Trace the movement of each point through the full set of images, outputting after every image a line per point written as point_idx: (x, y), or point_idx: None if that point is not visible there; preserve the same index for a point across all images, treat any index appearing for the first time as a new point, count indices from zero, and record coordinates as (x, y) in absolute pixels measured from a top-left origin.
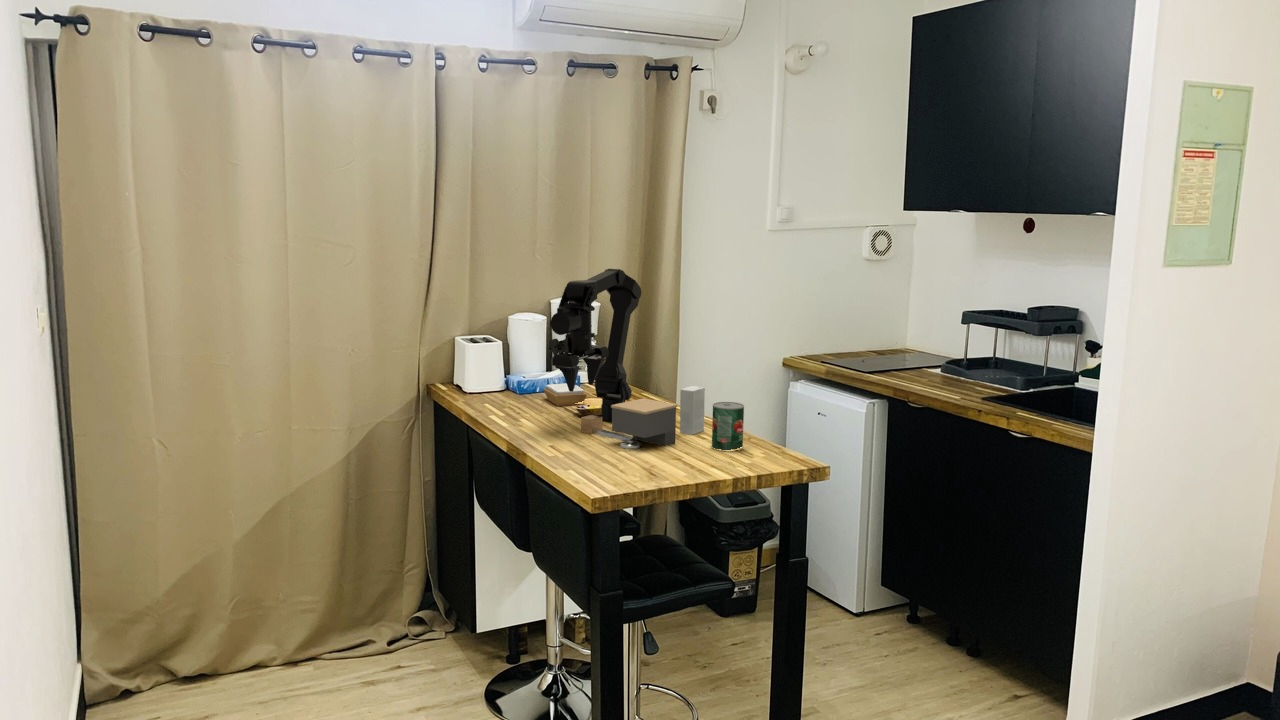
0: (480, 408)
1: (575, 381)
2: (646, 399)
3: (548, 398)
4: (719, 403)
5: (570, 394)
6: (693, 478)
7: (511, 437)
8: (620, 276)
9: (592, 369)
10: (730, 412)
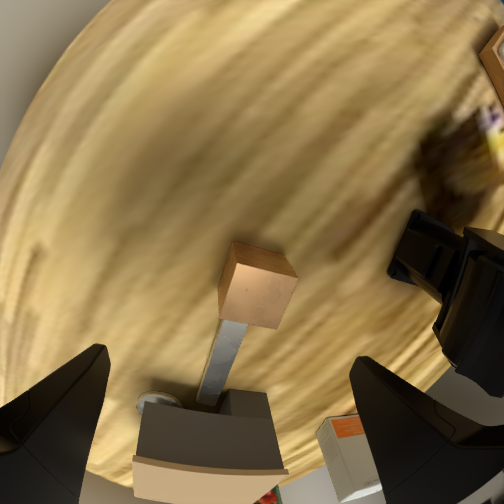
0: None
1: (86, 437)
2: (275, 480)
3: (497, 31)
4: None
5: None
6: (92, 467)
7: (53, 84)
8: None
9: (399, 457)
10: None
